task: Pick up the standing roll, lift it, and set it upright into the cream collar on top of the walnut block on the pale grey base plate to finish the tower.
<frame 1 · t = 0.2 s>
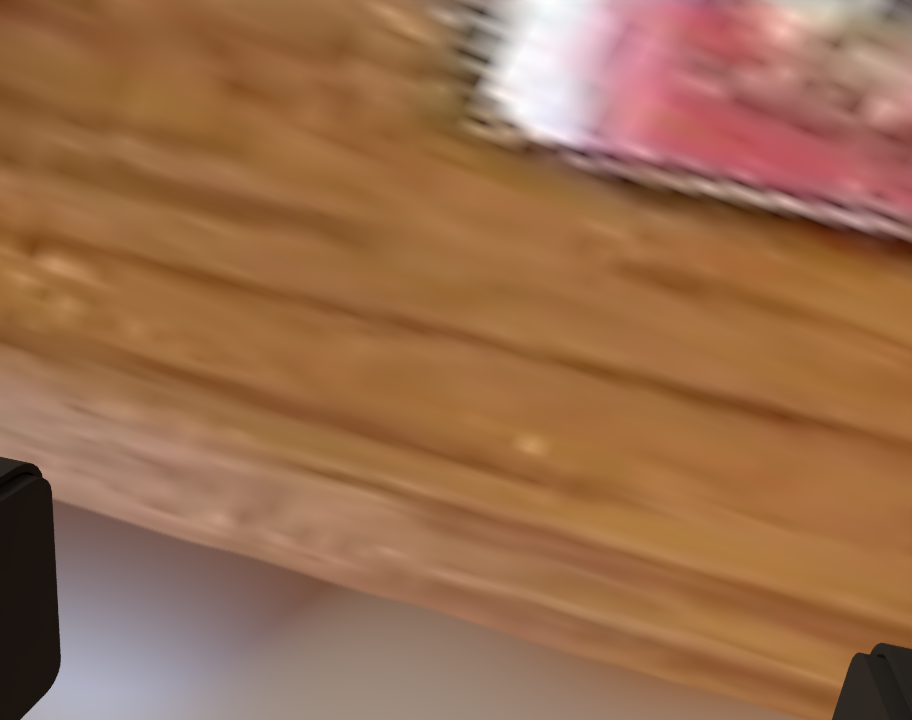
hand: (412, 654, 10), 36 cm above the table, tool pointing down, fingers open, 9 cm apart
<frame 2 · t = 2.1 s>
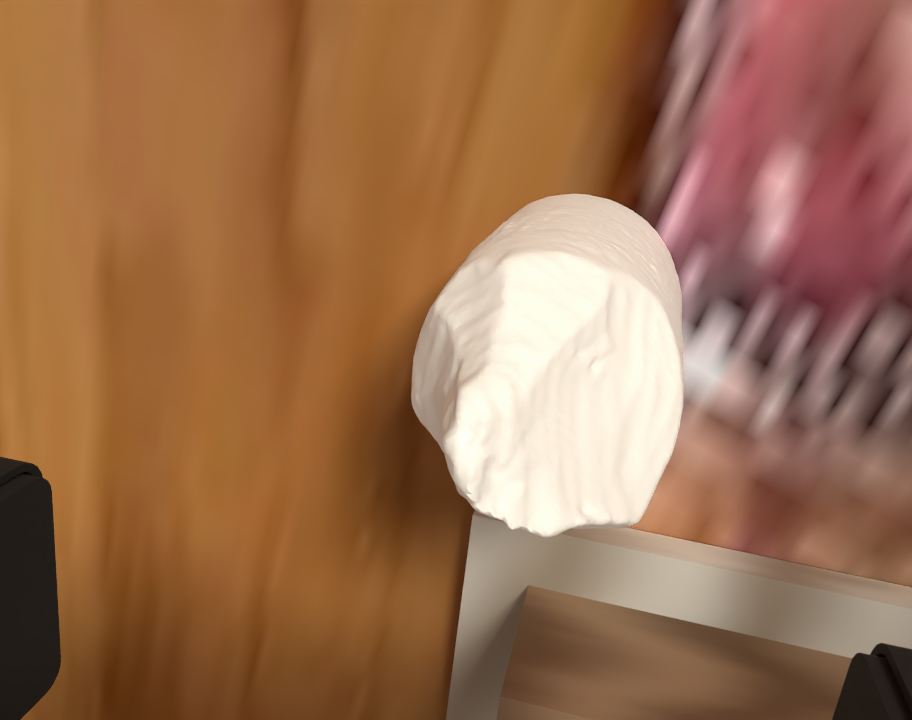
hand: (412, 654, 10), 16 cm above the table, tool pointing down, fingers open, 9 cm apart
roll: (578, 293, 24), on the table
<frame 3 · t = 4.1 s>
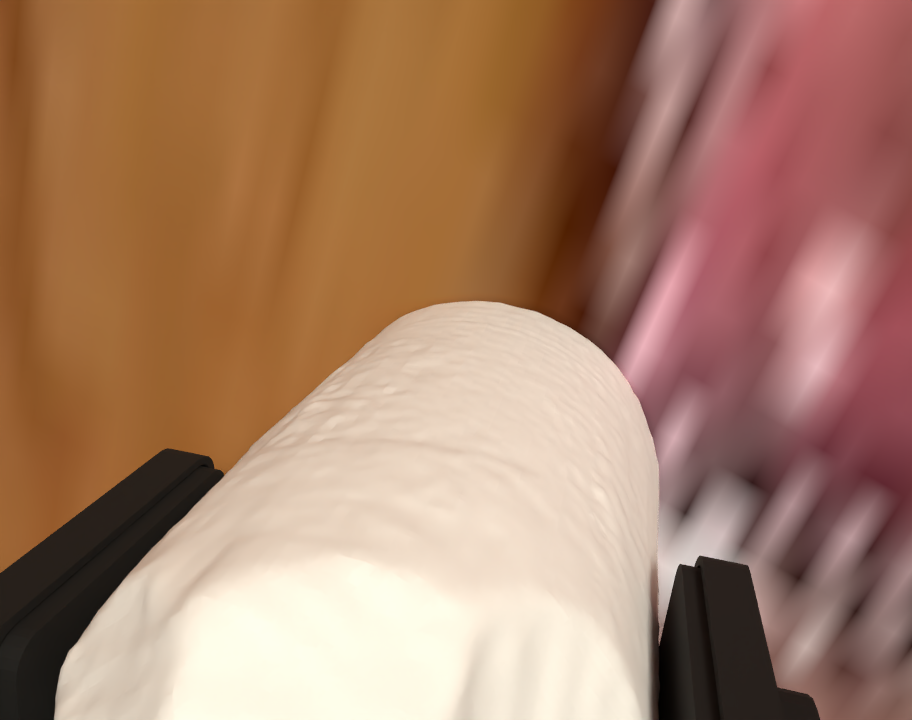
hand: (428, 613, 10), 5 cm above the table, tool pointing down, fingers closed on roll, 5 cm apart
roll: (491, 456, 15), on the table, touching gripper
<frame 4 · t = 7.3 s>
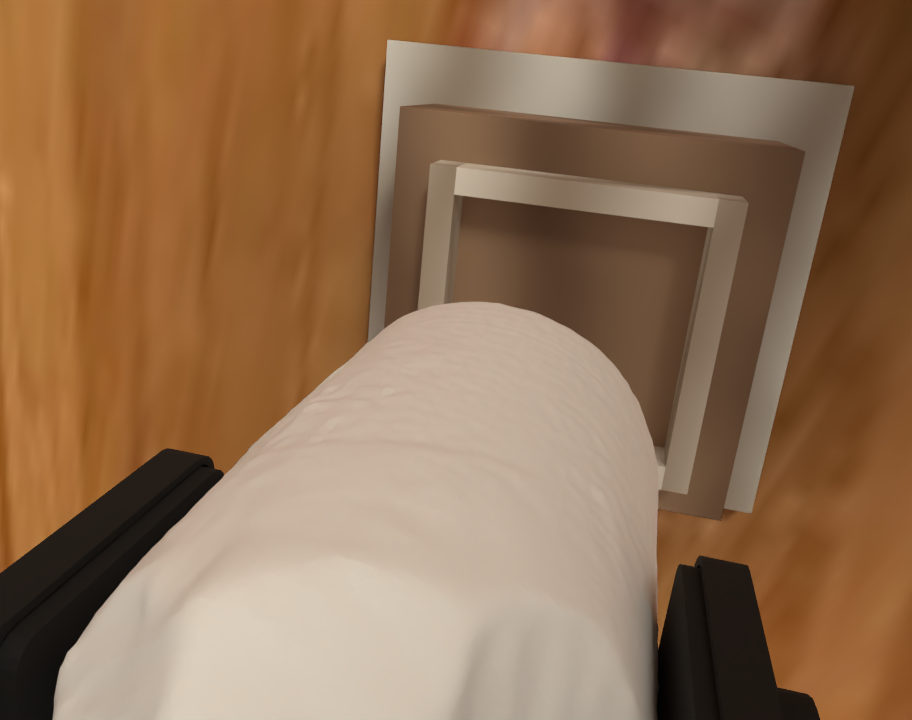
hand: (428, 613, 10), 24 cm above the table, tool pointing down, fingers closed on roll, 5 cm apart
tower base: (579, 279, 32), on the table
roll: (490, 456, 15), point 19 cm above the table, touching gripper
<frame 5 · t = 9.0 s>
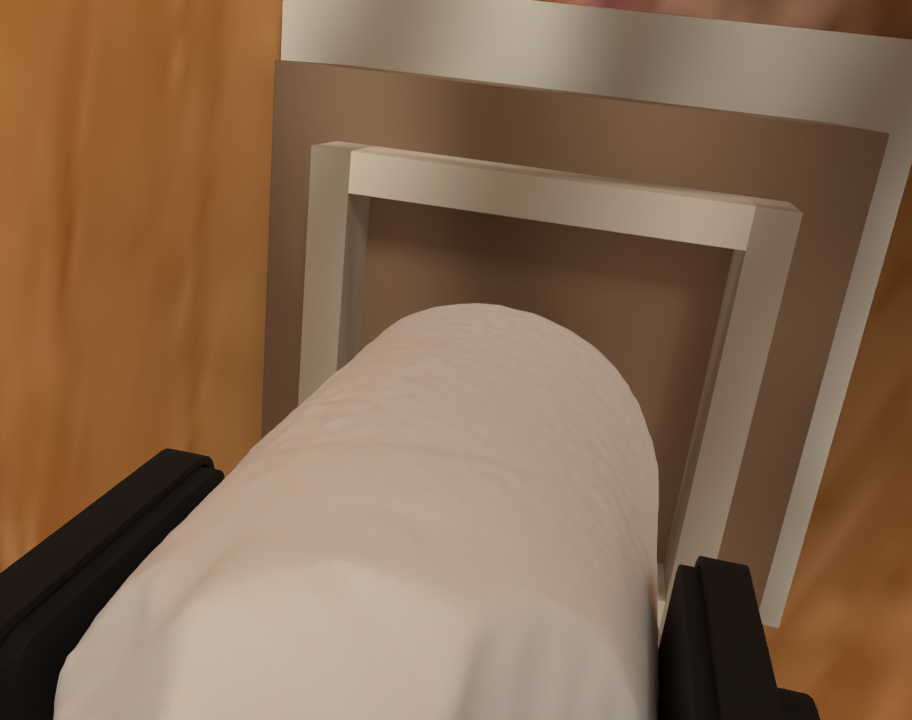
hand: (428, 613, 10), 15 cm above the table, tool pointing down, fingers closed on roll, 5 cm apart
tower base: (550, 310, 24), on the table
roll: (490, 458, 15), point 10 cm above the table, touching gripper
when the fingers open (12 cm above the table, at t = 10.5 s): roll stays where it is, resting on tower base.
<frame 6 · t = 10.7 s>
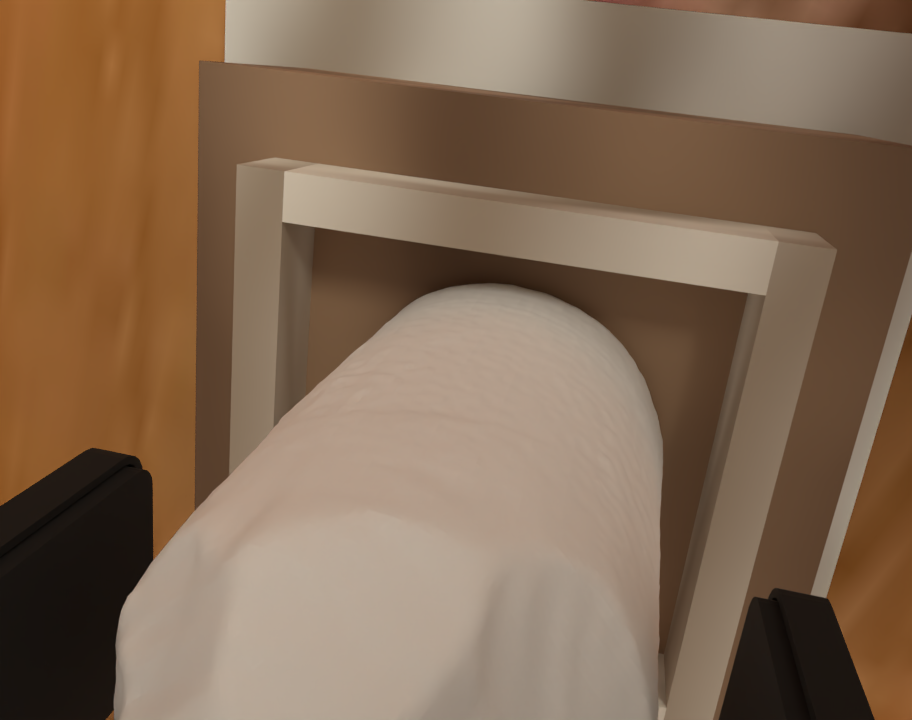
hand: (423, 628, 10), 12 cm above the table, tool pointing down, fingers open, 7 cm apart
tower base: (535, 345, 21), on the table
roll: (503, 431, 15), point 6 cm above the table, touching tower base
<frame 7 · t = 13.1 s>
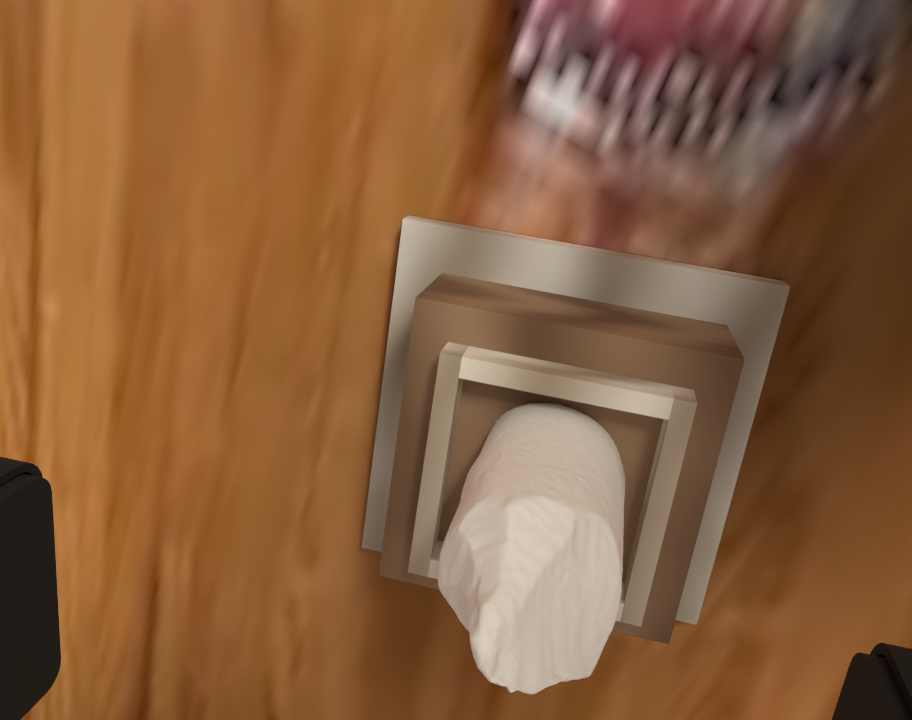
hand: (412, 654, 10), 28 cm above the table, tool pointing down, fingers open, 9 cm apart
tower base: (557, 420, 38), on the table
roll: (549, 470, 32), point 6 cm above the table, touching tower base
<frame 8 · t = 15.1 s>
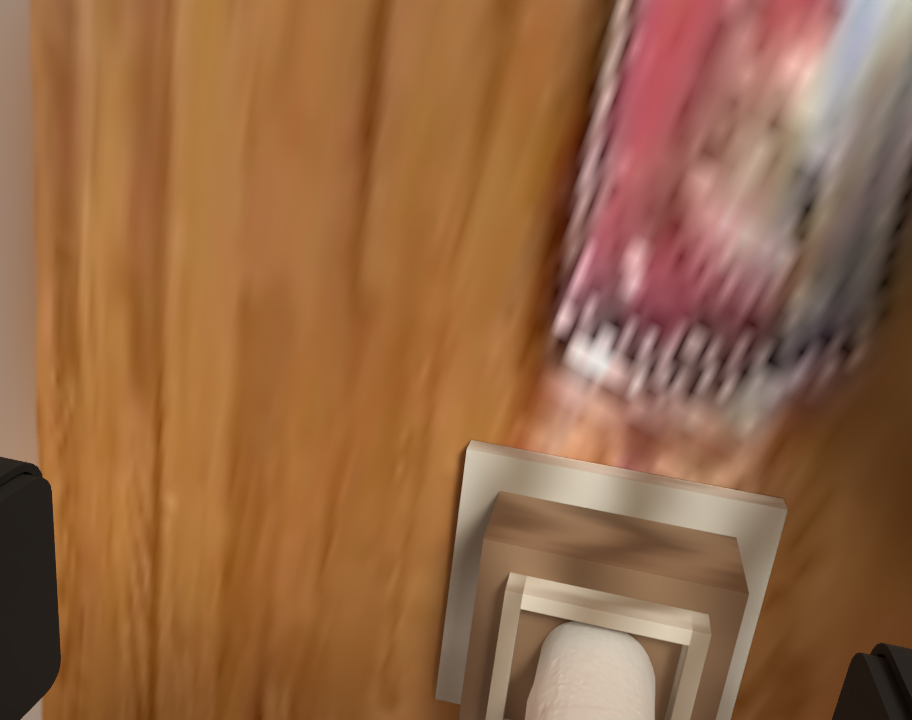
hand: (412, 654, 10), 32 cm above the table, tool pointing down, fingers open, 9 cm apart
tower base: (597, 599, 46), on the table
roll: (593, 668, 40), point 6 cm above the table, touching tower base
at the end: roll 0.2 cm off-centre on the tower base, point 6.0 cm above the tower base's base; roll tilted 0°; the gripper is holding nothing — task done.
